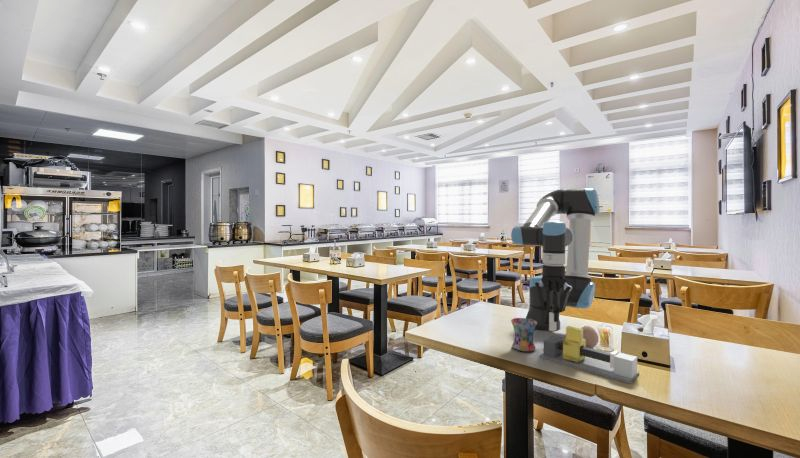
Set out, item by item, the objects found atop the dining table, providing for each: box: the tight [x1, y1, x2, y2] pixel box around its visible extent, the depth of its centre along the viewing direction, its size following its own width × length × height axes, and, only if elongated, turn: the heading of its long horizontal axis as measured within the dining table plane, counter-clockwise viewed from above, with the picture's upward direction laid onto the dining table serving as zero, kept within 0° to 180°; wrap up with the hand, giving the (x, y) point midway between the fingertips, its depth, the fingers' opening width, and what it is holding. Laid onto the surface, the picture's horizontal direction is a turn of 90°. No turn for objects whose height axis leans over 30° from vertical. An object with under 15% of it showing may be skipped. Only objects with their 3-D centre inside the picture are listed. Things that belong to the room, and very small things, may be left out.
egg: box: [580, 325, 599, 349], centre depth 137 cm, size 7×7×8 cm
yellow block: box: [563, 325, 586, 362], centre depth 123 cm, size 6×5×10 cm
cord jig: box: [538, 335, 640, 384], centre depth 120 cm, size 10×28×7 cm, turn 43°
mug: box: [510, 317, 537, 352], centre depth 136 cm, size 12×9×11 cm
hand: (552, 330), depth 129 cm, fingers closed
